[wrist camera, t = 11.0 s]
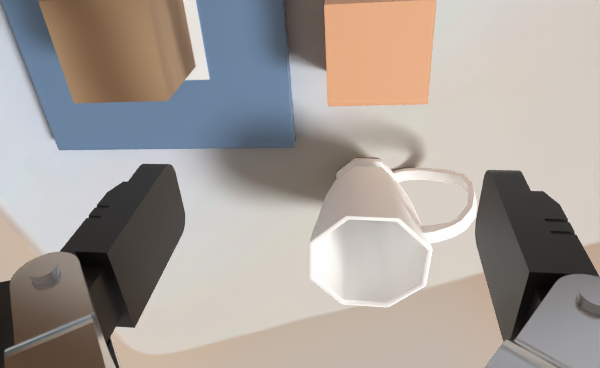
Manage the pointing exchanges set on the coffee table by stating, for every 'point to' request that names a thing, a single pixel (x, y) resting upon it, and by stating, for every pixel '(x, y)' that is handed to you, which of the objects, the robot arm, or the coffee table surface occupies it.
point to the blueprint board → (192, 92)
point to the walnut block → (120, 48)
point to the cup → (378, 234)
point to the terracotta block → (378, 51)
